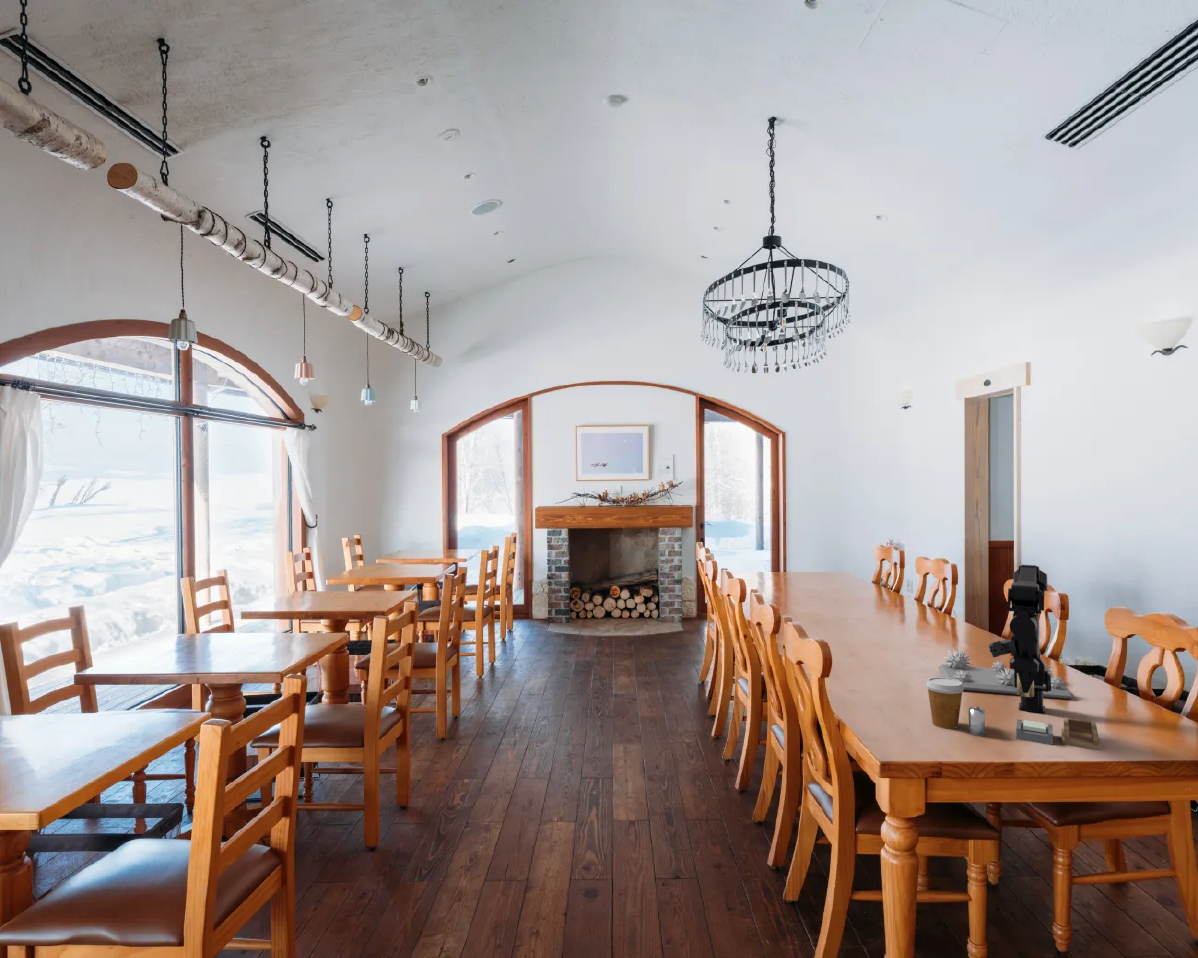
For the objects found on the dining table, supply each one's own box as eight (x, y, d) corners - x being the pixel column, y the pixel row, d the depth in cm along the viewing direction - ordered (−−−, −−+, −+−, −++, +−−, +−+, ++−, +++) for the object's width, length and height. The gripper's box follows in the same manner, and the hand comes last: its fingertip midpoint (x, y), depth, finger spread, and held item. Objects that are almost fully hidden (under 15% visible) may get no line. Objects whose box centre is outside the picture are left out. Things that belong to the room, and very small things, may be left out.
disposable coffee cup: (952, 718, 197) (952, 676, 197) (971, 730, 188) (971, 686, 188) (919, 719, 197) (919, 676, 197) (937, 731, 187) (936, 686, 187)
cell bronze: (1017, 692, 187) (1017, 665, 187) (1034, 694, 185) (1034, 667, 185) (1016, 695, 184) (1016, 668, 184) (1033, 697, 182) (1033, 670, 182)
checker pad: (1023, 723, 186) (1023, 719, 186) (1045, 727, 183) (1045, 723, 183) (1023, 729, 182) (1023, 725, 182) (1045, 732, 179) (1045, 728, 179)
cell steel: (969, 729, 188) (969, 703, 188) (985, 732, 186) (985, 706, 186) (968, 734, 185) (968, 707, 185) (984, 737, 183) (984, 710, 183)
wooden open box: (1061, 732, 186) (1061, 717, 186) (1098, 737, 182) (1098, 722, 182) (1062, 743, 178) (1062, 728, 178) (1100, 750, 173) (1100, 734, 173)
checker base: (1017, 729, 188) (1017, 719, 188) (1052, 735, 184) (1052, 724, 184) (1016, 738, 181) (1016, 728, 181) (1052, 744, 177) (1052, 733, 177)
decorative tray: (948, 691, 224) (948, 661, 224) (937, 671, 248) (937, 643, 248) (1075, 702, 212) (1074, 669, 212) (1050, 679, 237) (1050, 650, 237)
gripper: (994, 623, 197) (994, 678, 197) (987, 634, 182) (987, 694, 181) (1040, 628, 191) (1040, 685, 191) (1037, 639, 175) (1038, 701, 175)
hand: (1025, 691), depth 185 cm, fingers closed on cell bronze, 4 cm apart
